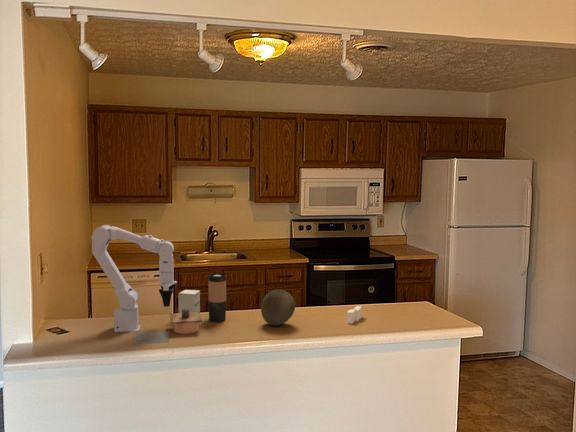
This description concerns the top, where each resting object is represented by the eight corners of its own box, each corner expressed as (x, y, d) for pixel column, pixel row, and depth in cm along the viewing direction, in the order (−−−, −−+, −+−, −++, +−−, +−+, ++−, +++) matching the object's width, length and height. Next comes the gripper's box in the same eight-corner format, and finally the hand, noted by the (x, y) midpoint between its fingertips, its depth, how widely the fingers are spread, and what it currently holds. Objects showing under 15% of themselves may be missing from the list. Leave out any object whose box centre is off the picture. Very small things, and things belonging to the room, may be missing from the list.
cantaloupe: (266, 331, 219) (266, 295, 218) (257, 321, 233) (257, 287, 231) (299, 328, 224) (299, 293, 222) (288, 319, 237) (288, 285, 236)
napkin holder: (359, 315, 245) (359, 303, 245) (374, 322, 236) (375, 309, 235) (331, 320, 238) (331, 307, 238) (346, 327, 228) (346, 313, 228)
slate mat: (133, 345, 201) (132, 343, 201) (136, 334, 214) (136, 332, 214) (168, 343, 204) (168, 342, 204) (170, 332, 216) (170, 331, 216)
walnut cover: (171, 324, 211) (170, 314, 211) (170, 315, 223) (170, 306, 222) (201, 322, 214) (201, 312, 214) (199, 313, 226) (199, 305, 225)
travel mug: (229, 319, 236) (229, 274, 234) (218, 323, 230) (218, 277, 228) (216, 316, 240) (216, 272, 238) (204, 320, 234) (204, 275, 232)
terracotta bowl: (173, 335, 213) (173, 323, 213) (174, 327, 223) (174, 315, 223) (199, 334, 215) (199, 322, 214) (199, 326, 225) (198, 314, 224)
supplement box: (194, 323, 229) (194, 294, 228) (178, 322, 231) (177, 293, 230) (200, 318, 237) (200, 290, 235) (184, 317, 238) (184, 289, 237)
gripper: (175, 274, 213) (176, 308, 214) (177, 267, 227) (177, 299, 228) (157, 275, 211) (158, 308, 213) (159, 267, 226) (160, 299, 227)
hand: (167, 303), depth 220 cm, fingers open, 7 cm apart
